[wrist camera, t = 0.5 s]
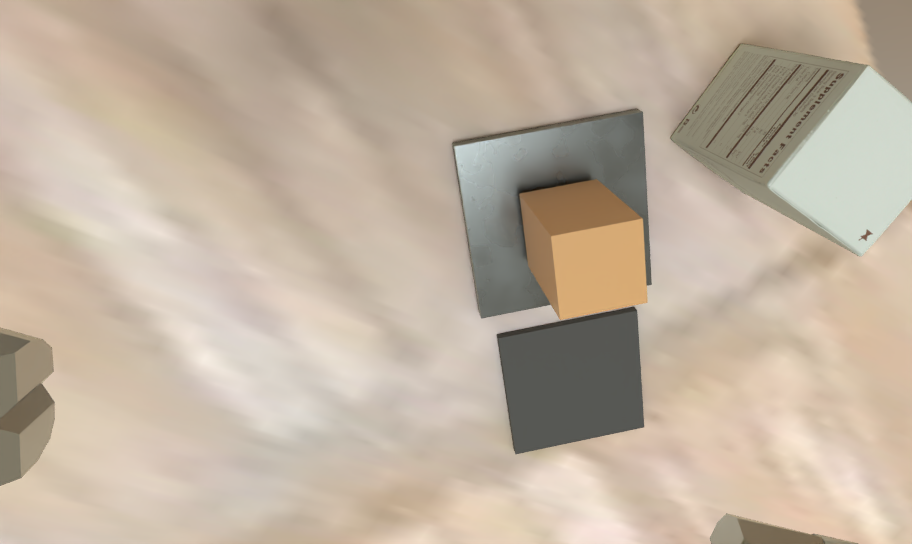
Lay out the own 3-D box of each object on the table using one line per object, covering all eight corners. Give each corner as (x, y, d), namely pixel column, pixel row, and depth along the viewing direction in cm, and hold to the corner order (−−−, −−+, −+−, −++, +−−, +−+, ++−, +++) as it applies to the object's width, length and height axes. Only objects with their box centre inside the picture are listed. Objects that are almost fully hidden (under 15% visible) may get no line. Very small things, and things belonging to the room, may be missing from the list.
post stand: (452, 142, 46) (474, 180, 37) (637, 109, 46) (698, 138, 38) (479, 312, 50) (503, 378, 42) (646, 278, 51) (702, 338, 43)
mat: (497, 334, 51) (498, 338, 51) (634, 307, 52) (637, 310, 51) (514, 449, 55) (515, 454, 55) (641, 422, 56) (644, 427, 55)
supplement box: (817, 104, 48) (966, 146, 36) (743, 195, 50) (862, 263, 38) (740, 38, 45) (872, 60, 34) (664, 136, 47) (766, 190, 36)
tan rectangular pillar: (519, 193, 45) (550, 236, 38) (596, 179, 46) (642, 218, 38) (528, 266, 47) (560, 319, 40) (602, 251, 48) (647, 302, 40)
